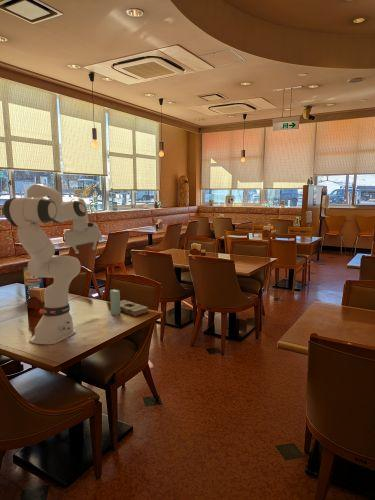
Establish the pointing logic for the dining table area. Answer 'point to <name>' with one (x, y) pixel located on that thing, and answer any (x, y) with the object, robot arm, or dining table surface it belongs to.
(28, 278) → the beverage box
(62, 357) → the dining table surface
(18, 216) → the robot arm
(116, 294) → the pale green tall block
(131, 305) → the grey slab with hole
